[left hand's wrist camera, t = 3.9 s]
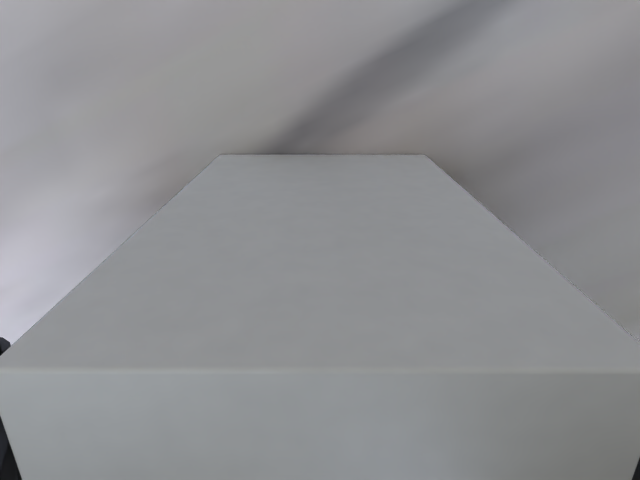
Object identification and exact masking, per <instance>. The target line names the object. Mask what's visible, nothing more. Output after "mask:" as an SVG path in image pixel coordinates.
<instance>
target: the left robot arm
mask: <svg viewBox="0 0 640 480" xmlns="http://www.w3.org/2000/svg"><path fill="white" fill-rule="evenodd" d="M9 347H11V345H10V342H8V341H7V340H5V339H4V338H1V337H0V356H1V355H2V354H3V353H4V352H5V351H6V350H7V349H8V348H9ZM0 480H22V478H21V475H20V472H19V469H18V466H17V463H16V460H15V457H14V454H13V451H12V449H11V446H10V443H9V440H8V437H7V434H6V431H5V428H4V425H3V422H2V419H1V416H0ZM632 480H640V458H639V461H638V464H637V466H636V469H635V472H634V475H633V478H632Z"/></svg>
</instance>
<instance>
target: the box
mask: <svg viewBox="0 0 640 480" xmlns="http://www.w3.org/2000/svg"><path fill="white" fill-rule="evenodd" d="M0 416H1V419H2V422H3V425H4V428H5V431H6V434H7V437H8V440H9V443H10V446H11V449H12V451H13V454H14V457H15V460H16V463H17V466H18V469H19V472H20V475H21V478H22V480H632V478H633V475H634V472H635V469H636V466H637V464H638V461H639V458H640V343H639V342H638V341H637V340H636V339H635V338H634V337H632V336H631V335H630V334H629V333H628V332H627V331H626V330H624V329H623V328H622V327H621V326H620V325H619V324H618V323H616V322H615V321H614V320H613V319H612V318H611V317H610V316H608V315H607V314H606V313H605V312H604V311H603V310H602V309H600V308H599V307H598V306H597V305H596V304H595V303H594V302H592V301H591V300H590V299H589V298H588V297H587V296H586V295H584V294H583V293H582V292H581V291H580V290H579V289H578V288H576V287H575V286H574V285H573V284H572V283H571V282H570V281H568V280H567V279H566V278H565V277H564V276H563V275H562V274H561V273H559V272H558V271H557V270H556V269H555V268H554V267H553V266H551V265H550V264H549V263H548V262H547V261H546V260H545V259H543V258H542V257H541V256H540V255H539V254H538V253H537V252H535V251H534V250H533V249H532V248H531V247H530V246H529V245H527V244H526V243H525V242H524V241H523V240H522V239H521V238H519V237H518V236H517V235H516V234H515V233H514V232H513V231H511V230H510V229H509V228H508V227H507V226H506V225H505V224H503V223H502V222H501V221H500V220H499V219H498V218H497V217H496V216H494V215H493V214H492V213H491V212H490V211H489V210H488V209H486V208H485V207H484V206H483V205H482V204H481V203H480V202H478V201H477V200H476V199H475V198H474V197H473V196H472V195H470V194H469V193H468V192H467V191H466V190H465V189H464V188H462V187H461V186H460V185H459V184H458V183H457V182H456V181H454V180H453V179H452V178H451V177H450V176H449V175H448V174H446V173H445V172H444V171H443V170H442V169H441V168H440V167H438V166H437V165H436V164H435V163H434V162H433V161H432V160H430V159H429V158H428V157H427V156H426V155H219V156H218V157H217V158H216V159H215V160H213V161H212V162H211V163H210V164H209V165H208V166H207V167H206V168H205V169H204V170H203V171H201V172H200V173H199V174H198V175H197V176H196V177H195V178H194V179H193V180H192V181H191V182H189V183H188V184H187V185H186V186H185V187H184V188H183V189H182V190H181V191H180V192H179V193H177V194H176V195H175V196H174V197H173V198H172V199H171V200H170V201H169V202H168V203H167V204H165V205H164V206H163V207H162V208H161V209H160V210H159V211H158V212H157V213H156V214H155V215H153V216H152V217H151V218H150V219H149V220H148V221H147V222H146V223H145V224H144V225H143V226H141V227H140V228H139V229H138V230H137V231H136V232H135V233H134V234H133V235H132V236H131V237H129V238H128V239H127V240H126V241H125V242H124V243H123V244H122V245H121V246H120V247H119V248H117V249H116V250H115V251H114V252H113V253H112V254H111V255H110V256H109V257H108V258H107V259H105V260H104V261H103V262H102V263H101V264H100V265H99V266H98V267H97V268H96V269H95V270H93V271H92V272H91V273H90V274H89V275H88V276H87V277H86V278H85V279H84V280H83V281H81V282H80V283H79V284H78V285H77V286H76V287H75V288H74V289H73V290H72V291H71V292H69V293H68V294H67V295H66V296H65V297H64V298H63V299H62V300H61V301H60V302H59V303H57V304H56V305H55V306H54V307H53V308H52V309H51V310H50V311H49V312H48V313H47V314H45V315H44V316H43V317H42V318H41V319H40V320H39V321H38V322H37V323H36V324H35V325H33V326H32V327H31V328H30V329H29V330H28V331H27V332H26V333H25V334H24V335H23V336H21V337H20V338H19V339H18V340H17V341H16V342H15V343H14V344H13V345H12V346H11V347H9V348H8V349H7V350H6V351H5V352H4V353H3V354H2V355H1V356H0Z"/></svg>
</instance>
